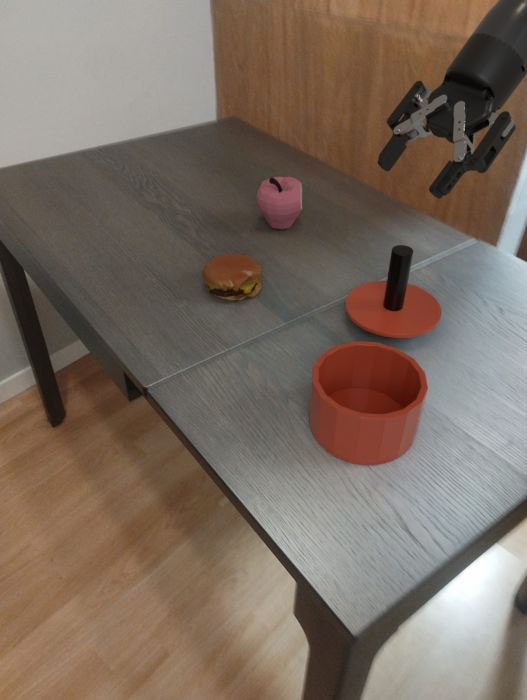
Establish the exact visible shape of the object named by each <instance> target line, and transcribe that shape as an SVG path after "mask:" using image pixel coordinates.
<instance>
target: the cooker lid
mask: <svg viewBox="0 0 527 700" xmlns="http://www.w3.org/2000/svg"><path fill="white" fill-rule="evenodd" d="M413 257H414V249H413V247H410V246H408V245H404V244H397V245H394V246H393V247H392V248H391V252H390V259H389V264H388V270H387V276H386V277H387V278H386V280H375V281H370V282H366V283H363V284H361V285H358V286H356V287H355V288H353V289H352V290H351V291H350V292H349V293H348V295H347V297H346V299H345V311H346V314H347V316H348V317H349V319H350V320H351V321H352V322H353V323H354V324H355V325H356V326H358V327H359V328H361V329H362V330H364V331H366V332H369V333H371V334H373V333H374V335H377V336H380V337H385V338H391V339H411V338H415V337H419V336H423V335H425V334H427V333H430V332H431V331H432V330H434V329H435V328H436V327H438V325H439V323H440V321H441V317H442V308H441V305H440V303H439V302H438V299H436V298H435V297H434V296H433V295H432V294H431V293H430V292H428V291H426V290H424V289H423V288H421V287H419V286H417V285H414V284H411V283H409V277H410V273H411V266H412V261H413Z"/></svg>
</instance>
